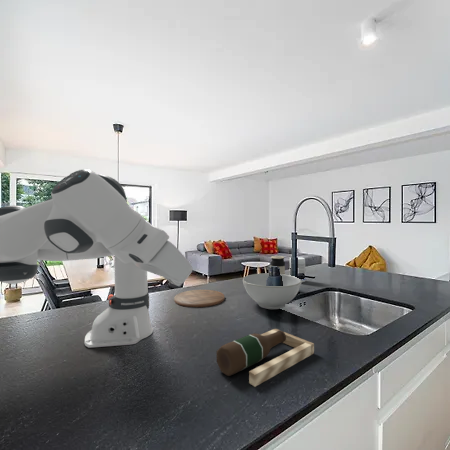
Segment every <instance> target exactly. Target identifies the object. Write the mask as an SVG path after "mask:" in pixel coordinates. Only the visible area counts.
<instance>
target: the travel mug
mask: <svg viewBox="0 0 450 450" xmlns="http://www.w3.org/2000/svg"><path fill="white" fill-rule="evenodd" d="M270 258H271V261H270V267H271V266H277V267H279V268H280V274H285V275H286V262H285V261H284V260H285V256H282V255H273V256H270Z"/></svg>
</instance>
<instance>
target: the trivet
mask: <svg viewBox="0 0 450 450" xmlns="http://www.w3.org/2000/svg"><path fill="white" fill-rule="evenodd" d="M173 301H174V303H175V304H176V305H178V306H180V307H181V306H182V307H186V308H207V307H213V306H217V305H219V304H220V305H221V304H222V303H223V302H224V301H225V294H224V293H223V292H221V291H218V290H213V289H193V290H186V291H182V292H179V293H177V294H176V295H175V296H174V298H173Z"/></svg>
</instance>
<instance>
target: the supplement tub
mask: <svg viewBox="0 0 450 450" xmlns="http://www.w3.org/2000/svg"><path fill="white" fill-rule="evenodd" d="M297 257H298V268H299V273H304V274H305V275H306V258H305V257H301V256H297ZM290 268H291V257H289V269H290ZM306 280H307V279H306V278H305V279H303V280H301V284H302V283H305V282H306Z"/></svg>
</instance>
